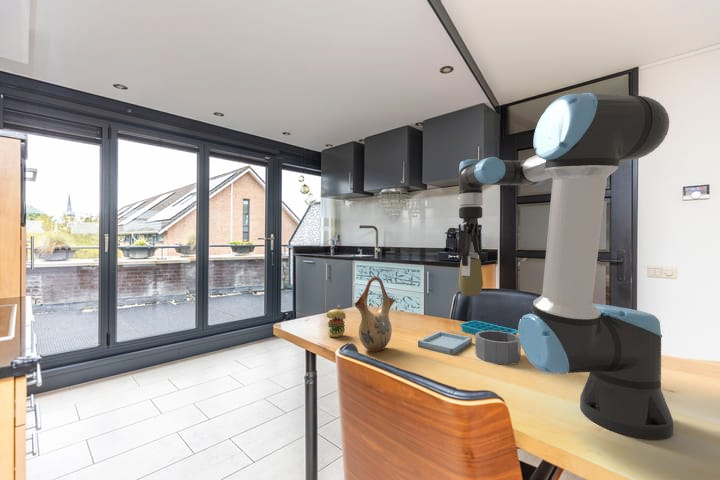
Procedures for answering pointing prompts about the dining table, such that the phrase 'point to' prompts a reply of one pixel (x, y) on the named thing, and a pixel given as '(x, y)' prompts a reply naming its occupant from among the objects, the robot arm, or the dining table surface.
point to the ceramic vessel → (374, 320)
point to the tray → (445, 342)
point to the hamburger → (336, 322)
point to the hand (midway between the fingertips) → (470, 274)
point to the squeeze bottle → (471, 276)
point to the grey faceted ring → (498, 347)
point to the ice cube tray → (484, 327)
